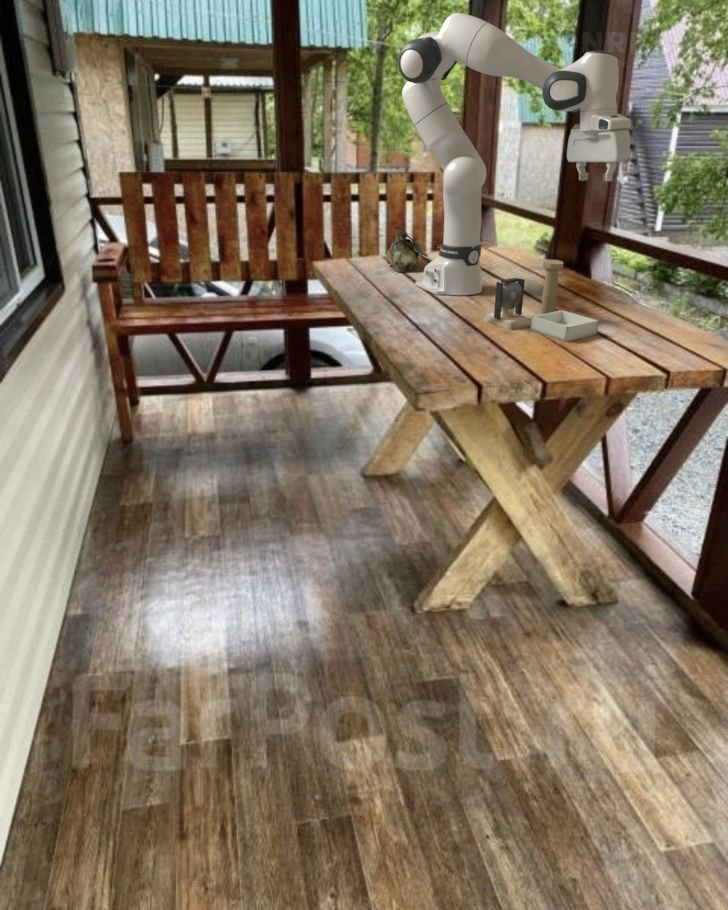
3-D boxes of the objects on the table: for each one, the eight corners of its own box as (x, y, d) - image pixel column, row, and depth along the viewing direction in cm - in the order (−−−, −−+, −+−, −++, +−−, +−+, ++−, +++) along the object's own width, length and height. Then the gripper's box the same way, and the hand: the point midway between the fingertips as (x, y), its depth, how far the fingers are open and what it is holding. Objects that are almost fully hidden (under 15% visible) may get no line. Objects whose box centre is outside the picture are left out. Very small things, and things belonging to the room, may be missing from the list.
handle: (541, 321, 197) (548, 264, 190) (535, 315, 202) (541, 259, 196) (559, 321, 197) (566, 264, 191) (552, 314, 203) (558, 259, 196)
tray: (529, 330, 189) (531, 316, 187) (560, 323, 195) (561, 310, 193) (566, 341, 180) (567, 327, 178) (596, 334, 185) (598, 320, 184)
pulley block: (482, 321, 196) (485, 277, 191) (505, 317, 200) (508, 274, 196) (509, 330, 189) (513, 285, 184) (531, 325, 193) (536, 281, 188)
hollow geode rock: (402, 271, 279) (375, 241, 275) (427, 247, 275) (400, 216, 271) (401, 285, 253) (371, 252, 249) (429, 259, 249) (399, 225, 245)
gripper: (561, 125, 194) (560, 181, 199) (615, 121, 176) (612, 183, 182) (581, 123, 196) (579, 178, 201) (636, 120, 178) (632, 180, 184)
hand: (595, 180), depth 191 cm, fingers open, 8 cm apart
